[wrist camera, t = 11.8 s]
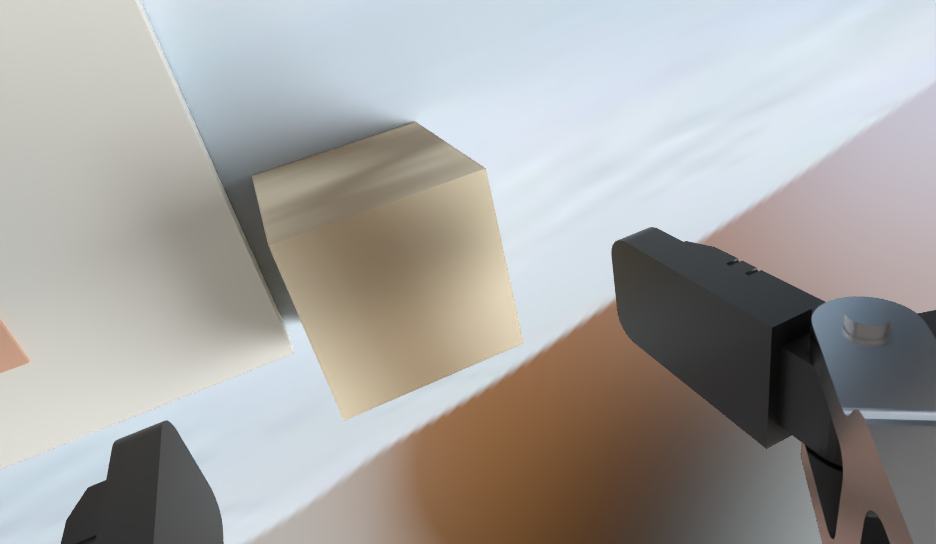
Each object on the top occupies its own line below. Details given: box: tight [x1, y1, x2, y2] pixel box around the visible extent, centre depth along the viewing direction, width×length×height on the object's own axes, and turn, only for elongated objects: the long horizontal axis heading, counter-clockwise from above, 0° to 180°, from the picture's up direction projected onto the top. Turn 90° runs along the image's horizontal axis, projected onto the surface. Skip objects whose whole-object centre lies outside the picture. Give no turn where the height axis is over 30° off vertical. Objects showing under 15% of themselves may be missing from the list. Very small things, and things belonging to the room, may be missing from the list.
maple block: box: [252, 122, 523, 421], centre depth 15 cm, size 4×4×5 cm
